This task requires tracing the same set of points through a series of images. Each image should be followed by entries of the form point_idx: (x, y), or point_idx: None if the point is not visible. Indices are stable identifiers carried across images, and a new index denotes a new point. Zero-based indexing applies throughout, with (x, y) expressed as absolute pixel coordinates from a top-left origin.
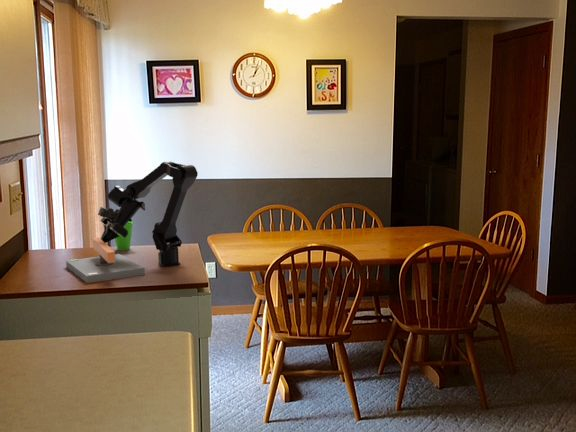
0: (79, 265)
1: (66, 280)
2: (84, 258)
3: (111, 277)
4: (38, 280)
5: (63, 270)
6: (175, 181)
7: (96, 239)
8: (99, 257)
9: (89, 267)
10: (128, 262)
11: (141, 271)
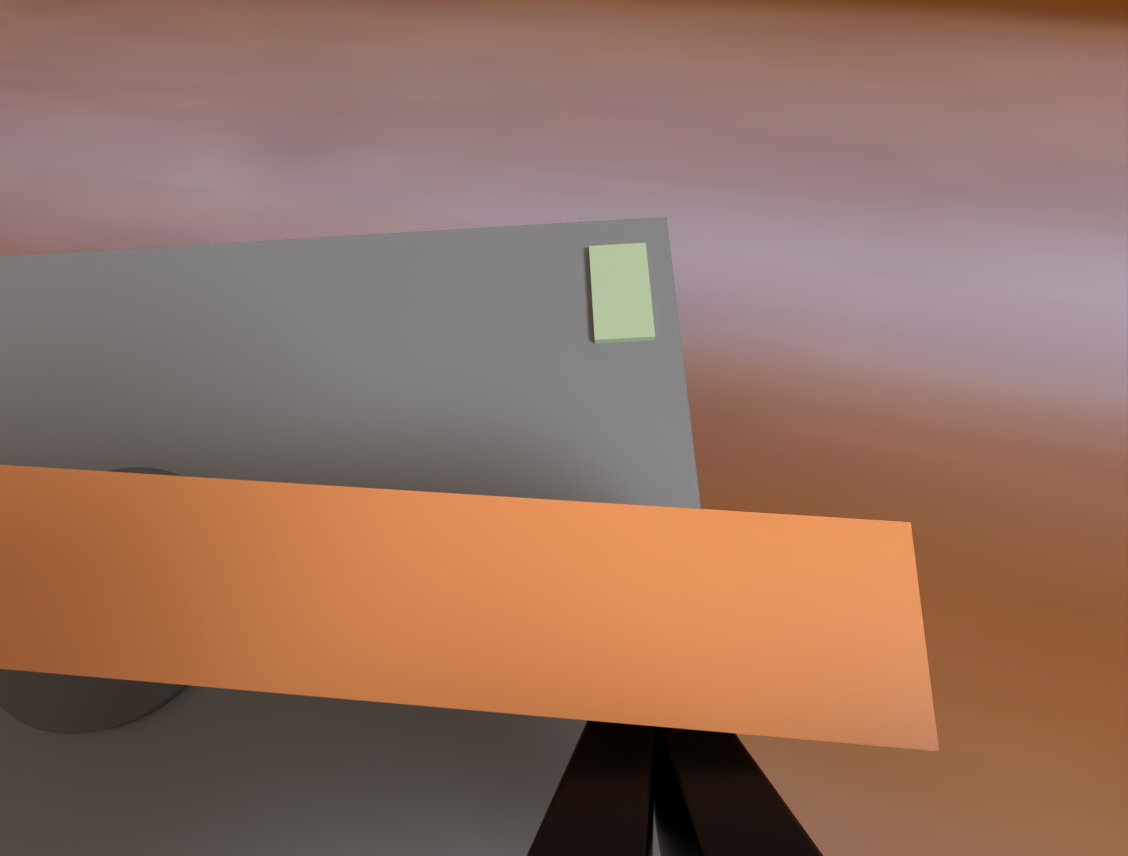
0: (288, 300)
1: (93, 189)
2: (683, 433)
3: None
4: (274, 27)
5: (514, 222)
6: None
7: (577, 567)
8: None
9: (91, 376)
10: None
11: None
